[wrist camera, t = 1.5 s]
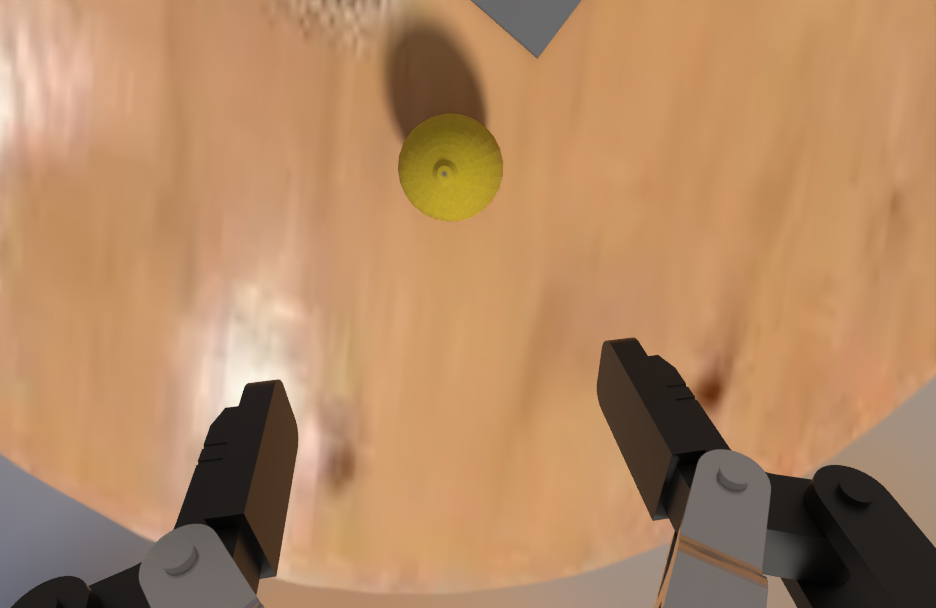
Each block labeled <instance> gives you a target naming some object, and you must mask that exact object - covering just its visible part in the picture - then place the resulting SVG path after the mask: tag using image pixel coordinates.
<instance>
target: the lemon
mask: <svg viewBox="0 0 936 608" xmlns="http://www.w3.org/2000/svg"><path fill="white" fill-rule="evenodd" d="M398 172H399V178H400V183H401V186H402V188H403V190H404V193H405V195H406V196H407V198H408V199H409V200H410V202H411V203H412V204H413V206H415V207H416V208H417V209H418V210H419V211H421V212H422V213H423V214H425V215H427V216H430V217H432V218H434V219H437V220H442V221H461V220H464V219H467V218H470V217H473V216H474V215H476V214H478V213H479V212H481V211H482V210H484V209H485V208H486V207H487V206H488V205H489V204H490V202H491V201H492V200H493V199H494V197H495V195H496V193H497V191H498V190H499V187H500V183H501V180H502V176H503V160H502V156H501V151H500V148H499V146H498V144H497V142H496V140H495V138H494V136H493V135H492V134H491V133H490V132H489V130H488V129H487V128H486V127H485V126H484V125H482V124H481V123H479V122H478V121H476V120H475V119H473V118H470V117H468V116H465V115H462V114H452V113H445V114H441V115H436V116H432V117H430V118H428V119H426V120H425V121H423V122H421V123H420V124H419V125H418V126H416V127H415V128H414V129H413V130H412V131H411V132H410V134H409V135H408V137H407V138H406V140H405V141H404V143H403V146H402V149H401V152H400V155H399V164H398Z"/></svg>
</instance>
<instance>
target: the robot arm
mask: <svg viewBox="0 0 936 608" xmlns="http://www.w3.org/2000/svg"><path fill="white" fill-rule="evenodd" d="M597 395H598V400H599V404H600V407H601V410H602V412H603V414H604V416H605V418H606V420H607V423H608V425H609V427H610V429H611V431H612V433H613V436H614V438H615V440H616V442H617V444H618V446H619V449H620V451H621V453H622V455H623V457H624V459H625V462H626V464H627V466H628V468H629V470H630V472H631V475H632V477H633V479H634V481H635V483H636V486H637V488H638V490H639V492H640V494H641V496H642V499H643V501H644V503H645V505H646V507H647V509H648V512H649V514H650V516H651V518H652V520H653V521H654V520H661V519H668V518H669V519H670V521H671V523H672V526H673V528H674V530H675V531H674V533H673V537H672V540H671V544H670V548H669V552H668V556H667V559H666V563H665V567H664V571H663V575H662V578H661V582H660V586H659V590H658V593H657V597H656V601H655V605H654V608H766V604H767V594H768V581H767V578H766V577H765V576H763V575H762V574H765V575H771V576H776V577H781V579H782V581H783V583H784V585H785V586H786V588H787V590H788V592H789V594H790V595H791V597H792V599H793V601H794V602H795V604H796V606H797V608H936V548H935V547H934V546H933V544H932V543H931V542H930V541H929V540H928V538H926V536H925V535H924V534H923V532H922V531H921V530H920V529H919V528H918V526H917V525H916V524H915V523H914V522H913V521H912V519H911V518H910V517H909V516H908V515H907V513H906V512H905V511H904V510H903V508H902V507H901V506H900V505H899V504H898V502H897V501H896V500H895V499H894V498H893V496H892V495H891V494H890V493H889V492H888V491H887V490H886V488H884V486H883V485H881V484H880V483H879V482H878V481H877V480H875V479H874V478H872V477H871V476H869V475H867V474H865V473H863V472H861V471H859V470H857V469H854V468H851V467H847V466H841V465H829V466H825V467H822V468H820V469H819V470H818V471H817V472H816V473H815V475H814V477H813V479H812V480H811V479H804V478H797V477H790V476H783V475H776V474H771V473H767V472H765V471H764V470H763V469H762V468H761V467H760V466H759V465H758V464H757V463H756V462H755V461H753V460H752V459H750V458H749V457H747V456H745V455H743V454H741V453H738V452H735V451H732V450H731V449H730V448H729V447H728V445H727V444H726V442H725V441H724V439H723V438H722V436H721V435H720V433H719V432H718V430H717V429H716V427H715V426H714V424H713V423H712V421H711V420H710V419H709V417H708V416H707V414H706V413H705V411H704V410H703V408H702V407H701V405H700V404H699V402H698V401H697V400H695V396H694V395H693V393H692V392H691V390H690V389H689V387H686V383H685V381H684V380H683V379H682V377H681V376H680V374H679V373H678V371H677V370H676V368H675V367H673V366H672V365H671V364H669V363H668V362H667V361H665V360H664V359H663V358H661V357H660V356H659V355H654V356H647V354H646V352H645V351H644V349H643V348H642V346H641V345H640V343H639V341H638V340H637V339H636V338H625V339H617V340H609V341H605V342H604V343H603V346H602V352H601V359H600V366H599V373H598V380H597ZM297 449H298V429H297V424H296V420H295V417H294V414H293V411H292V409H291V406H290V403H289V400H288V397H287V394H286V391H285V388H284V386H283V383H282V382H281V380H271V381H262V382H254V383H248V384H246V386H245V387H244V390H243V394H242V397H241V400H240V403H239V406H237V407H229V408H225V409H224V410H223V411H222V413H221V414H220V415H219V416H218V417H217V419H216V420H215V421H214V422H213V423H212V425H211V426H210V428H209V431H208V434H207V437H206V440H205V443H204V449H202V451H201V454H200V457H199V460H198V465H196V468H195V471H194V474H193V477H192V480H191V482H190V485H189V488H188V491H187V494H186V497H185V499H184V502H183V505H182V508H181V511H180V514H179V516H178V519H177V522H176V525H175V527H174V529H173V530H172V531H171V532H169V533H167V534H166V535H164V536H163V537H162V538H160V539H159V540H158V541H157V542H156V543H155V544H154V545H153V546H152V547H151V548H150V550H149V551H148V552H147V554H146V555H145V557H144V559H143V561H142V562H141V563H139V564H137V565H135V566H133V567H131V568H129V569H127V570H124V571H122V572H120V573H118V574H115V575H113V576H110V577H108V578H106V579H103V580H101V581H99V582H97V583H95V584H92V585H90V586H88V585H87V584H86V583H85V582H84V581H83V580H81V579H80V578H77V577H73V576H64V577H58V578H54V579H51V580H49V581H46V582H44V583H42V584H40V585H38V586H36V587H35V588H33V589H32V590H30V591H29V592H28V593H26V594H25V595H24V596H22V597H21V598H20V599H19V600H18V601H17V602H16V603H15V604H14V605H13V606H12V607H11V608H264V606H263V605H262V604H261V603H260V601H259V599H258V598H257V596H256V594H257V589H258V584H259V579H262V578H269V577H275V576H276V575H277V569H278V563H279V557H280V551H281V545H282V539H283V533H284V527H285V521H286V515H287V509H288V503H289V497H290V491H291V485H292V479H293V473H294V467H295V461H296V455H297Z"/></svg>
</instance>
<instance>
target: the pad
mask: <svg viewBox="0 0 936 608" xmlns="http://www.w3.org/2000/svg"><path fill="white" fill-rule="evenodd" d="M471 1H472V2H473V3H475V4H476V5H477V6H478V7H479V8H480V9H481V10H483V11H484V12H485V13H486V14H487V15H488V16H489V17H491V18H492V19H493V20H494V21H495V22H496V23H497V24H499V25H500V26H501V27H502V28H503V29H504V30H505V31H507V32H508V33H509V34H510V35H511V36H512V37H513V38H515V39H516V40H517V41H518V42H519V43H520V44H521V45H523V46H524V47H525V48H526V49H527V50H528V51H529V52H531V53H532V54H533V55H534V56H535V57H536V58H537V59H538V57H539V56H540V55H541V53H542V52H543V51H544V49H545V48H546V47H547V45H548V44H549V43H550V41H551V40H552V39H553V37H554V36H555V35H556V33H557V32H558V31H559V29H560V28H561V27H562V25H563V24H564V23H565V21H566V20H567V19H568V17H569V16H570V15H571V13H572V12H573V11H574V9H575V8H576V7H577V5H578V4H579V3H580V1H581V0H471Z"/></svg>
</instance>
